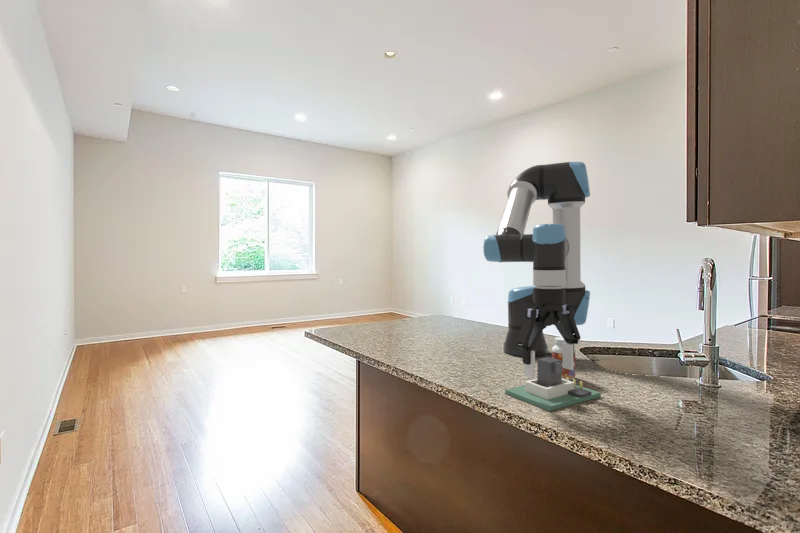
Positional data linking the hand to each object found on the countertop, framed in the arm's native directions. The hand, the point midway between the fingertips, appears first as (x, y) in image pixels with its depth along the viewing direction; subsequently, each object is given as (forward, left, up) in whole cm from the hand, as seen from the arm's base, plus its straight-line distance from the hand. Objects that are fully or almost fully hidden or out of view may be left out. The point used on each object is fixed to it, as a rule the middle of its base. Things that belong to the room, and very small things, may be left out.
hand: (549, 373), depth 106 cm
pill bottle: (-15, -8, -6) cm, 19 cm away
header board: (-1, 0, -6) cm, 6 cm away
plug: (0, 0, -5) cm, 5 cm away
